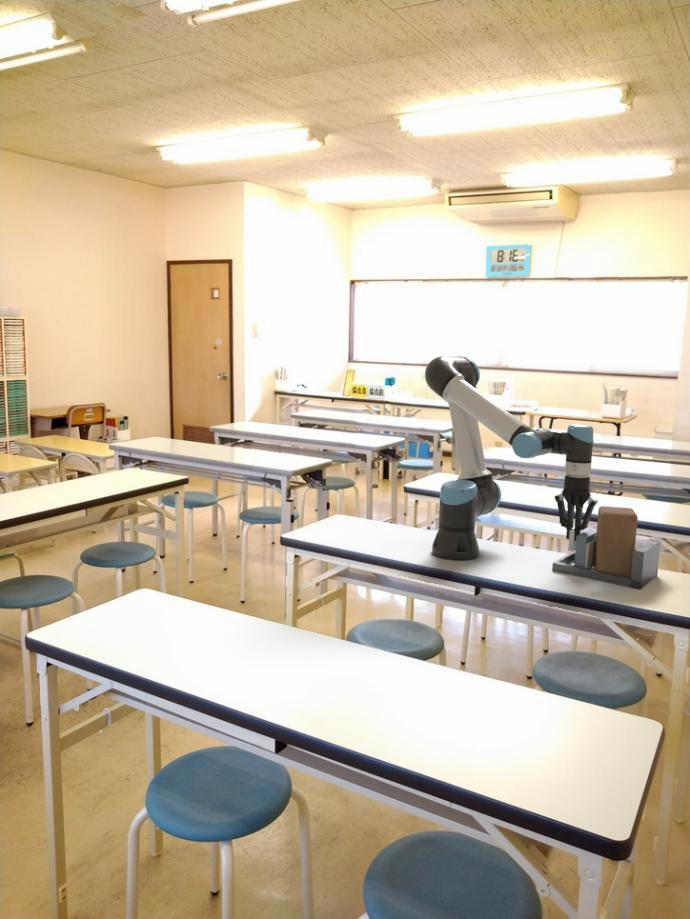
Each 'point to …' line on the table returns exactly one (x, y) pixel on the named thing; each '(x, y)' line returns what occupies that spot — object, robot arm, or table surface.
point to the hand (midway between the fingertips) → (572, 550)
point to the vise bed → (641, 574)
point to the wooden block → (615, 540)
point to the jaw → (585, 549)
